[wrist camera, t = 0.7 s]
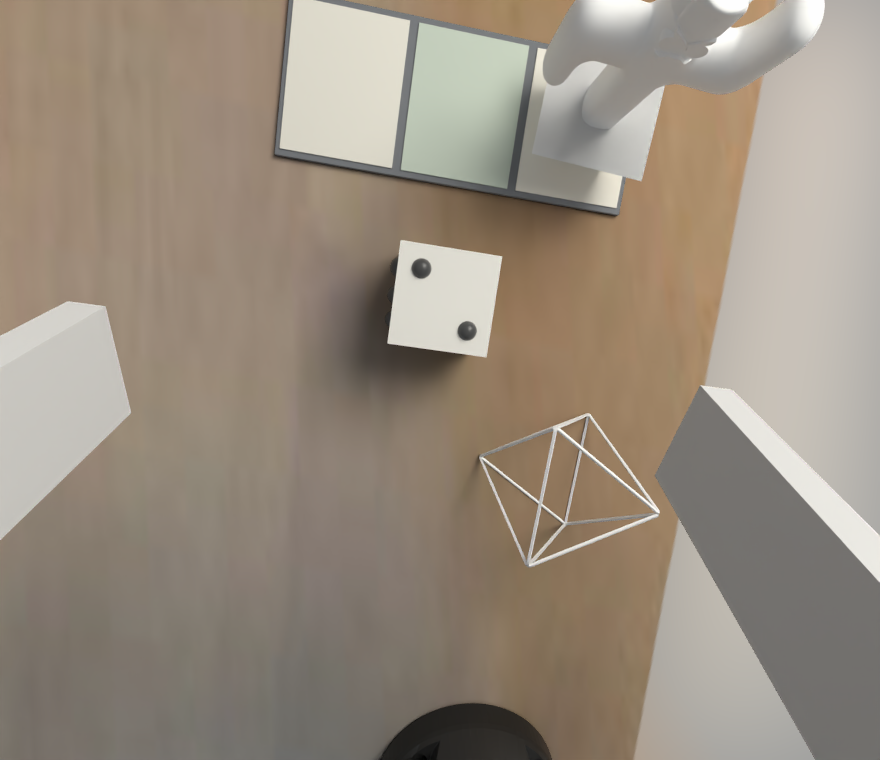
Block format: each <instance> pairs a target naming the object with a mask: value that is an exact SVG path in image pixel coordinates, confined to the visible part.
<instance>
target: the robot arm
mask: <svg viewBox="0 0 880 760" xmlns="http://www.w3.org/2000/svg"><path fill="white" fill-rule="evenodd" d="M130 414H131V410H130V406H129V402H128V398H127V394H126V389H125V385H124V381H123V377H122V373H121V369H120V365H119V360H118V356H117V352H116V348H115V344H114V340H113V336H112V331H111V327H110V323H109V319H108V315H107V311H106V307H105V306H99V305H92V304H84V303H77V302H69V301H67V302H65V303H63V304H61V305H60V306H58V307H56V308H54V309H52V310H50V311H48V312H46V313H44V314H42V315H40V316H38V317H36V318H34V319H32V320H30V321H28V322H26V323H24V324H22V325H21V326H19V327H17V328H15V329H13V330H11V331H9V332H7V333H5V334H3V335H1V336H0V540H1V539H2V538H3V537H4V536H5V535H6V534H7V533H8V532H9V531H10V530H11V529H12V528H13V527H14V526H15V525H16V524H17V523H18V522H19V521H20V520H21V519H22V518H23V517H24V516H26V515H27V514H28V513H29V512H30V511H31V510H32V509H33V508H34V507H35V506H36V505H37V504H38V503H39V502H40V501H41V500H42V499H43V498H44V497H45V496H46V495H47V494H48V493H49V492H50V491H51V490H52V489H53V488H54V487H55V486H56V485H57V484H58V483H60V482H61V481H62V480H63V479H64V478H65V477H66V476H67V475H68V474H69V473H70V472H71V471H72V470H73V469H74V468H75V467H76V466H77V465H78V464H79V463H80V462H81V461H82V460H83V459H84V458H85V457H86V456H87V455H88V454H89V453H90V452H91V451H92V450H94V449H95V448H96V447H97V446H98V445H99V444H100V443H101V442H102V441H103V440H104V439H105V438H106V437H107V436H108V435H109V434H110V433H111V432H112V431H113V430H114V429H115V428H116V427H117V426H118V425H119V424H120V423H121V422H122V421H123V420H124V419H125V418H126V417H128V416H129V415H130ZM655 477H656V479H657V480H658V482H659V484H660V486H661V487H662V489H663V491H664V493H665V494H666V496H667V498H668V500H669V502H670V503H671V505H672V507H673V509H674V510H675V512H676V514H677V516H678V518H679V519H680V521H681V523H682V525H683V526H684V528H685V530H686V532H687V533H688V535H689V537H690V539H691V541H692V542H693V544H694V546H695V548H696V549H697V551H698V553H699V555H700V556H701V558H702V560H703V562H704V563H705V565H706V567H707V568H708V571H709V572H710V574H711V576H712V578H713V580H714V581H715V583H716V585H717V586H718V588H719V590H720V592H721V593H722V595H723V597H724V599H725V601H726V602H727V604H728V606H729V608H730V609H731V611H732V613H733V615H734V617H735V618H736V620H737V622H738V624H739V626H740V627H741V629H742V631H743V632H744V634H745V636H746V638H747V640H748V641H749V643H750V645H751V647H752V649H753V650H754V652H755V654H756V655H757V657H758V659H759V661H760V663H761V664H762V666H763V668H764V670H765V672H766V673H767V675H768V677H769V679H770V680H771V682H772V684H773V686H774V687H775V689H776V691H777V693H778V695H779V696H780V698H781V700H782V702H783V703H784V705H785V707H786V709H787V710H788V712H789V714H790V716H791V718H792V719H793V721H794V723H795V725H796V726H797V728H798V730H799V732H800V733H801V735H802V737H803V739H804V741H805V742H806V744H807V746H808V748H809V749H810V751H811V753H812V755H813V757H814V758H815V760H880V536H879V535H878V534H877V533H876V532H875V531H874V530H873V529H872V528H871V527H870V526H869V525H868V524H867V523H866V522H865V521H864V520H863V519H862V518H861V517H860V516H859V515H858V514H857V513H856V512H855V511H854V510H853V509H852V508H851V507H850V506H849V505H848V504H847V503H846V502H845V501H844V500H843V499H842V498H841V497H840V496H839V495H838V494H837V493H836V492H835V491H834V490H833V489H832V488H831V487H830V486H829V485H828V484H827V483H826V482H825V481H824V480H823V479H822V478H821V477H820V476H819V475H818V474H817V473H816V472H815V471H814V470H813V469H812V468H811V467H810V466H809V465H808V464H807V463H806V462H805V461H804V460H803V459H802V458H800V456H799V455H798V454H797V453H796V452H795V451H794V450H793V449H792V448H791V447H790V446H789V445H788V444H787V443H786V442H785V441H784V440H782V438H780V436H778V435H777V434H776V433H775V432H774V431H773V430H772V429H771V428H770V427H769V426H768V425H767V424H766V423H765V422H764V421H763V420H762V419H761V418H760V417H759V416H758V415H757V414H756V413H755V412H754V411H753V410H752V409H751V408H750V407H749V406H748V405H747V404H746V403H745V402H744V401H743V400H742V399H741V398H740V397H739V396H738V395H737V394H736V393H735V392H734V391H733V390H732V389H724V388H716V387H708V386H701V385H700V387H699V389H698V391H697V393H696V395H695V397H694V399H693V401H692V403H691V405H690V407H689V409H688V411H687V413H686V415H685V417H684V419H683V421H682V423H681V425H680V426H679V428H678V430H677V432H676V434H675V436H674V438H673V440H672V442H671V444H670V446H669V448H668V450H667V452H666V454H665V456H664V458H663V460H662V462H661V464H660V466H659V468H658V470H657V472H656V474H655ZM381 760H552V758H551V755H550V752H549V749H548V747H547V745H546V743H545V741H544V739H543V738H542V736H541V735H540V734H539V732H538V731H537V730H536V729H535V728H534V727H533V726H532V725H531V724H530V723H529V722H528V721H526V720H525V719H523V718H522V717H520V716H519V715H517V714H515V713H513V712H511V711H509V710H506V709H503V708H500V707H497V706H492V705H486V704H460V705H454V706H449V707H445V708H442V709H439V710H436V711H434V712H431V713H429V714H427V715H425V716H423V717H421V718H419V719H418V720H416V721H415V722H413V723H412V724H410V725H409V726H408V727H406V728H405V729H404V730H403V731H402V732H401V733H400V734H399V735H398V736H397V737H396V738H395V739H394V740H393V742H392V743H391V744H390V745H389V747H388V748H387V750H386V751H385V753H384V755H383V757H382V759H381Z"/></svg>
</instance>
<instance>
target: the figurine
mask: <svg viewBox="0 0 880 760" xmlns="http://www.w3.org/2000/svg"><path fill="white" fill-rule="evenodd" d="M751 1H752V0H656V1H654V2H651V3H647V2H644V1H641V0H576V1H575V2H574V3H573V4H572V6H571V7H570V9H569V10H568V12H567V14H566V15H565V17H564V19H563V21H562V22H561V24H560V26H559V28H558V30H557V31H556V33H555V35H554V37H553V39H552V40H551V42H550V44H549V46H548V48H547V50H546V53H545V56H544V60H543V76H544V79H545V81H546V82H547V85H546V89H545V94H544V99H543V103H542V108H541V113H540V117H539V122H538V127H537V131H536V136H535V140H534V145H533V150H532V154H535V155H539V156H543V157H547V158H551V159H555V160H559V161H563V162H567V163H571V164H575V165H579V166H583V167H587V168H591V169H595V170H599V171H603V172H607V173H611V174H615V175H619V176H623V177H627V178H631V179H635V180H639V181H642V177H643V173H644V169H645V165H646V161H647V156H648V152H649V148H650V144H651V140H652V136H653V132H654V128H655V124H656V120H657V116H658V112H659V108H660V103H661V99H662V95H663V91H664V87H665V85H670V84H678V85H683V86H686V87H690V88H694V89H697V90H701V91H704V92H708V93H712V94H728V93H732V92H735V91H737V90H739V89H741V88H743V87H745V86H747V85H748V84H750V83H752V82H753V81H755V80H756V79H758V78H759V77H761V76H762V75H764V74H765V73H767V72H768V71H770V70H772V69H773V68H774V67H776V66H778V65H779V64H781V63H782V62H784V61H785V60H787V59H788V58H790V57H791V56H793V55H794V54H796V53H797V52H798V51H800V50H801V49H802V48H804V47H805V46H806V45H807V44H808V43H809V42H810V41H811V39H812V38H813V37H814V35H815V34H816V32H817V31H818V29H819V26H820V24H821V21H822V19H823V15H824V0H784V1H783V2H782V3H781V4H779V5H778V6H777V7H776V8H774V9H773V10H772V11H770V12H769V13H768V14H766V15H765V16H763V17H761V18H760V19H758V20H756V21H755V22H753V23H750V24H748V25H745V26H742V27H738V28H731V26H732V25H733V24H734V23H735V22H736V21H737V20H739V19H740V18H741V17H742V16H743V15H744V14H745V13H746V11H747V8H748V4H749V3H750V2H751Z"/></svg>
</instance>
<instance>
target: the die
mask: <svg viewBox="0 0 880 760" xmlns="http://www.w3.org/2000/svg"><path fill="white" fill-rule="evenodd" d="M501 261H502V256H496V255H490V254H484V253H478V252H472V251H465V250H459V249H453V248H447V247H441V246H435V245H428V244H422V243H416V242H410V241H404V240H401V242H400V250H399V257H398V258H395V259H394V260H393V261H392V262H391V265H390V270H391V272H392V274H393V275H394V276H396V281H395V286H393V287H391V288H390V289H389V291H388V294H387V295H388V299H389V301H390V302H391V303H393V304H392V311H390V312H388V313H387V315H386V317H385V322H386V324H387V325H388V326H389V335H388V343H387V344H394V345H401V346H409V347H416V348H423V349H430V350H438V351H445V352H452V353H459V354H467V355H474V356H481V357H487V350H488V344H489V338H490V331H491V325H492V318H493V312H494V306H495V299H496V293H497V287H498V280H499V274H500V267H501Z"/></svg>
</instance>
